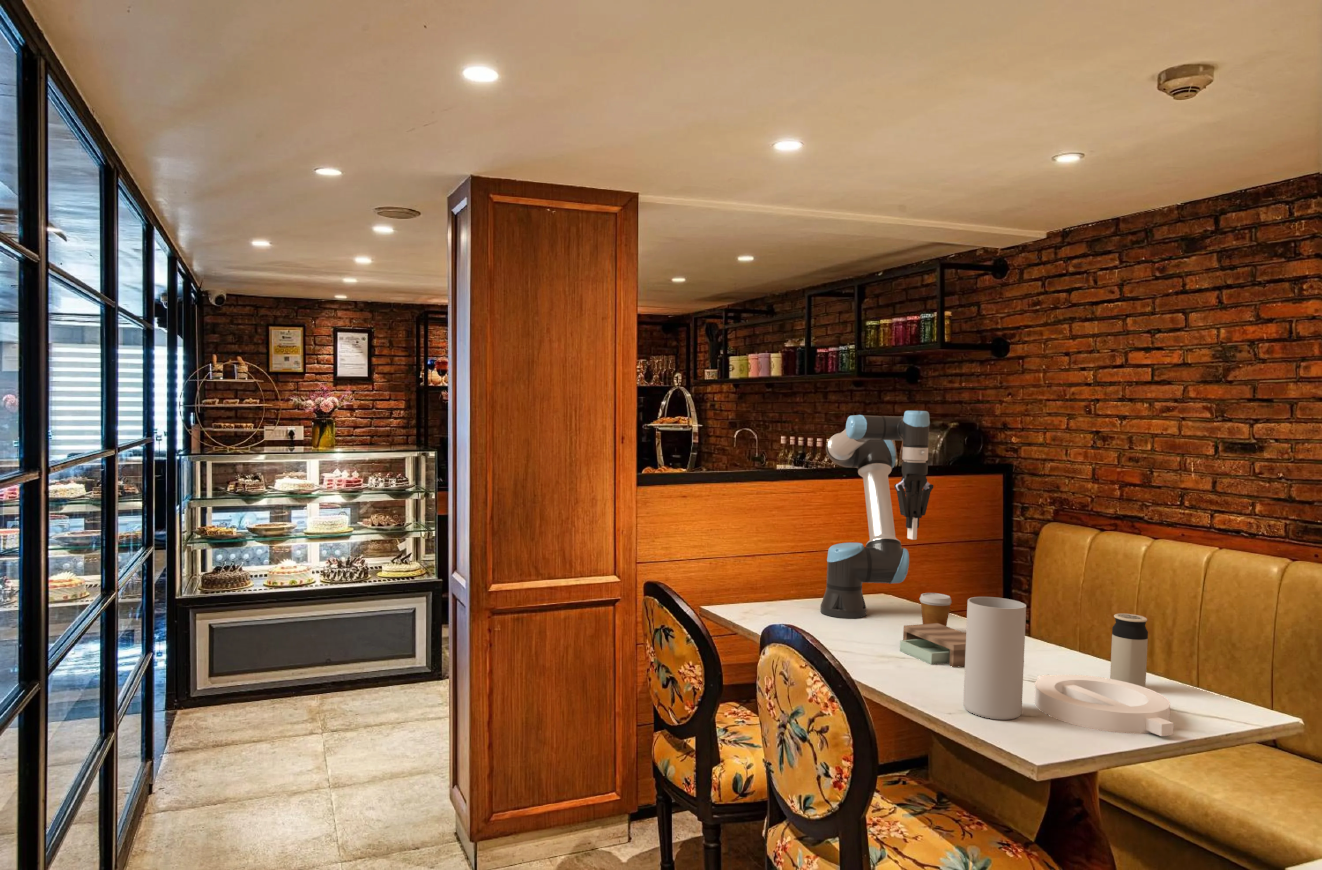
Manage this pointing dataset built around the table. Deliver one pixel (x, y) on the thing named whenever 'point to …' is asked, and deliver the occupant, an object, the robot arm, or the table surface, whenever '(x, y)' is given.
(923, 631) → the walnut overhang
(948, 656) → the green tray
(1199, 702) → the table surface
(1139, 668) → the travel mug
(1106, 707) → the ring with crossbar
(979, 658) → the cylinder vase
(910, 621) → the table surface
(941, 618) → the disposable coffee cup
